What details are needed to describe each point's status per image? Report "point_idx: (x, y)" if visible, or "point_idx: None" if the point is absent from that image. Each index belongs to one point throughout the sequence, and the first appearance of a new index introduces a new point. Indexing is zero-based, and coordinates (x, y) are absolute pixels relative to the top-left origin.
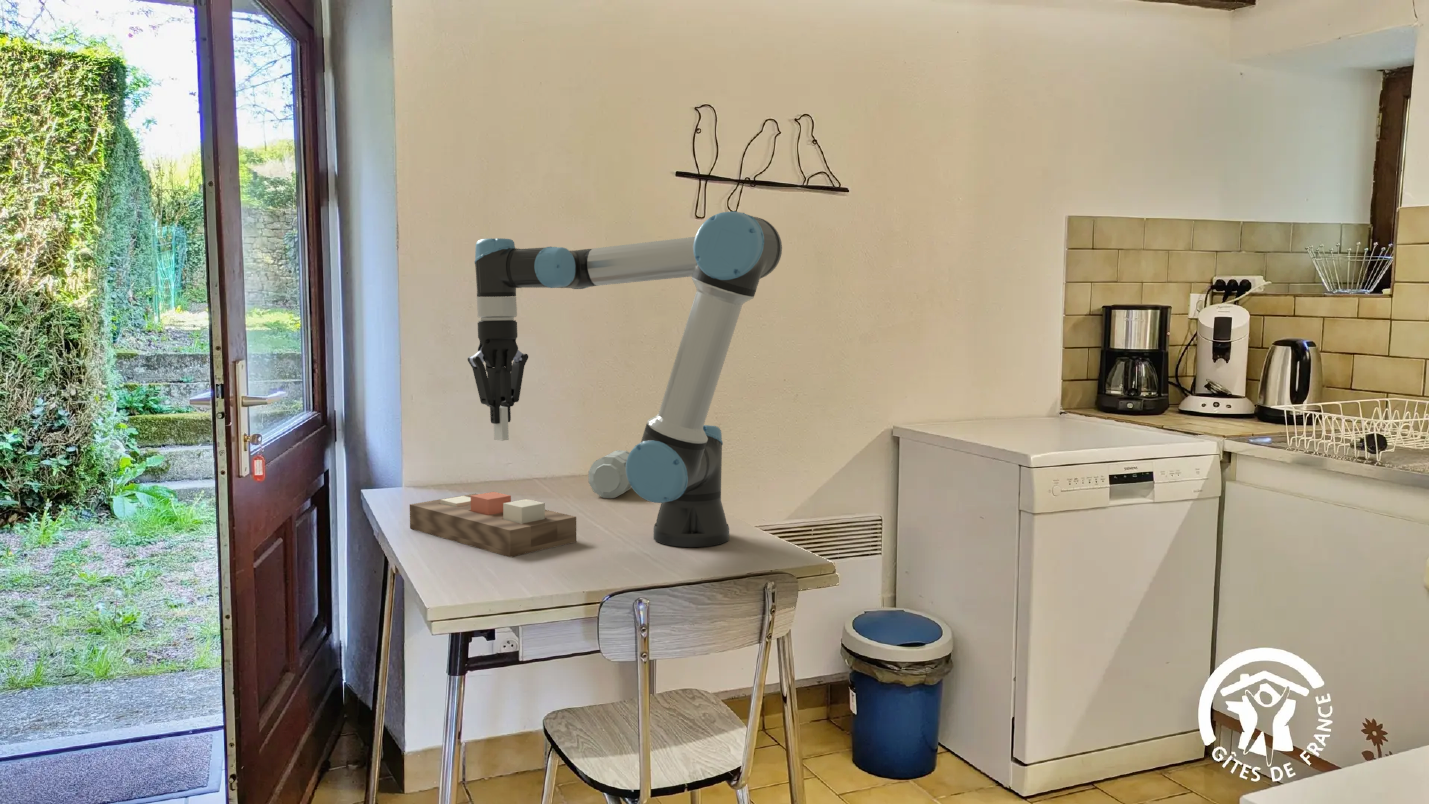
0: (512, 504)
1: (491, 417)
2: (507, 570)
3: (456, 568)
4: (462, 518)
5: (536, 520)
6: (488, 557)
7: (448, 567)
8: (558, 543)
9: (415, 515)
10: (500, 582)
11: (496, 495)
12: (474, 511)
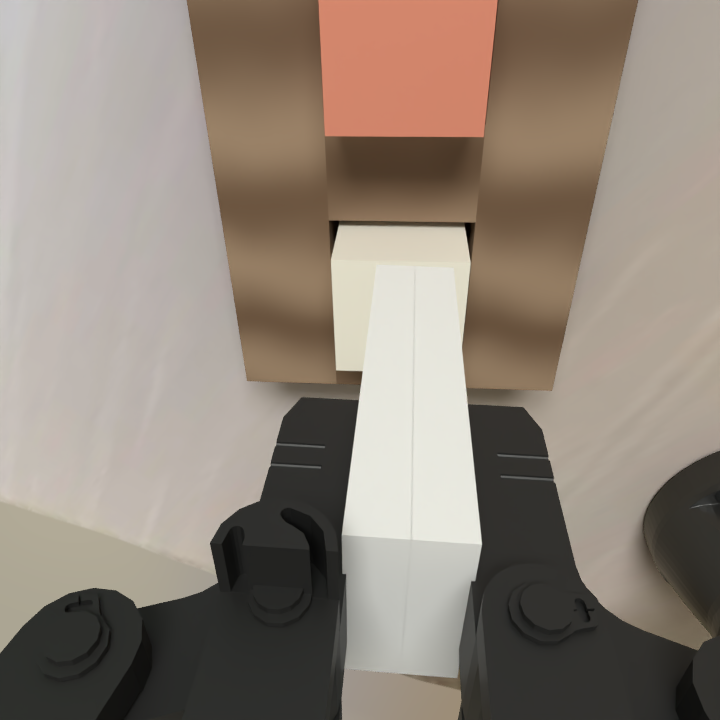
0: (345, 306)
1: (278, 464)
2: (191, 409)
3: (83, 313)
4: (201, 85)
5: None
6: (213, 286)
7: (66, 290)
8: None
9: None
10: (131, 460)
11: (430, 72)
12: None
